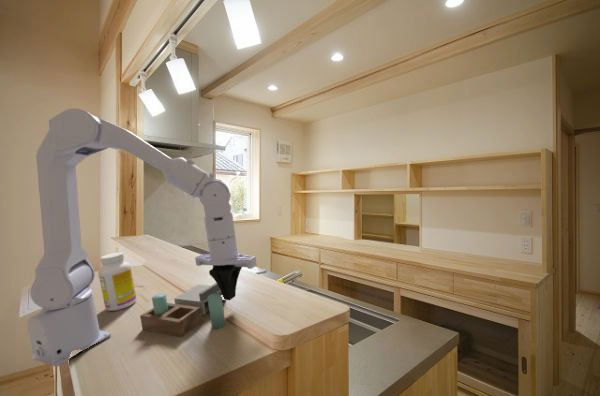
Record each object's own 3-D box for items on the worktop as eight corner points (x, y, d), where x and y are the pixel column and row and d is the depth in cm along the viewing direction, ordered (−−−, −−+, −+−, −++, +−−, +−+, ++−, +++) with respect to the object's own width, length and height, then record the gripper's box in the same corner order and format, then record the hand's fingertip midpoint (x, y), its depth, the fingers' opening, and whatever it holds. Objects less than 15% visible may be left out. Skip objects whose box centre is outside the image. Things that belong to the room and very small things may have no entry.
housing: (204, 315, 60) (200, 294, 60) (176, 311, 64) (173, 291, 63) (226, 299, 67) (223, 280, 67) (200, 296, 70) (197, 278, 70)
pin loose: (219, 329, 55) (215, 299, 54) (208, 327, 56) (204, 298, 55) (228, 322, 57) (223, 293, 56) (217, 320, 58) (213, 292, 57)
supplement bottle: (141, 297, 74) (133, 249, 73) (127, 310, 68) (118, 257, 66) (115, 300, 74) (106, 252, 72) (99, 313, 67) (88, 261, 66)
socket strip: (181, 337, 53) (178, 322, 53) (142, 329, 58) (140, 315, 57) (202, 321, 59) (200, 307, 58) (165, 315, 63) (163, 302, 63)
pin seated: (162, 328, 58) (158, 299, 57) (153, 326, 59) (148, 298, 58) (173, 321, 60) (168, 294, 59) (164, 319, 61) (159, 292, 60)
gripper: (260, 231, 61) (268, 292, 62) (207, 232, 67) (215, 287, 68) (241, 241, 55) (250, 308, 56) (184, 240, 60) (194, 301, 62)
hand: (230, 297), depth 62 cm, fingers closed
